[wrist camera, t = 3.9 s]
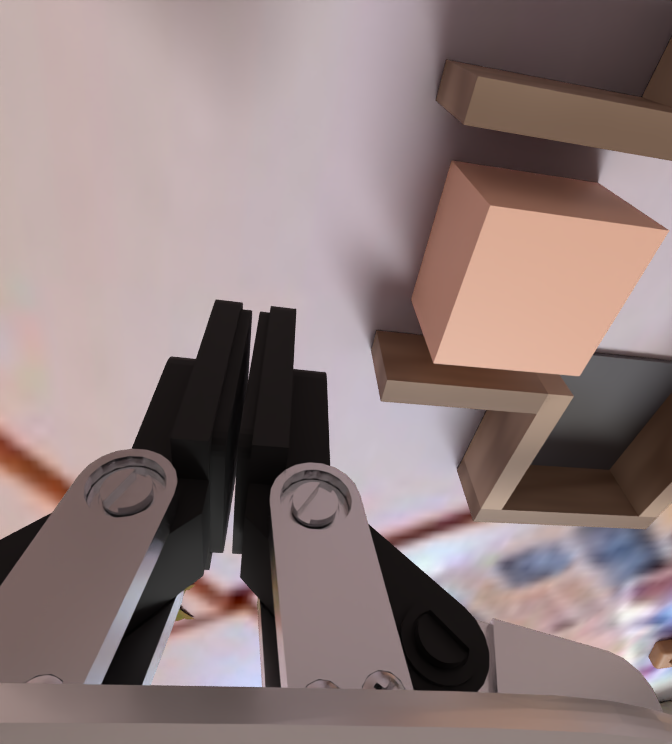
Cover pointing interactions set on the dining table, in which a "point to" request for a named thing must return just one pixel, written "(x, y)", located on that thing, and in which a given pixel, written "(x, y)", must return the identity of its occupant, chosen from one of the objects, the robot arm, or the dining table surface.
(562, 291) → the block
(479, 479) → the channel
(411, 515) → the dining table surface
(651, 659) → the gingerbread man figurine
